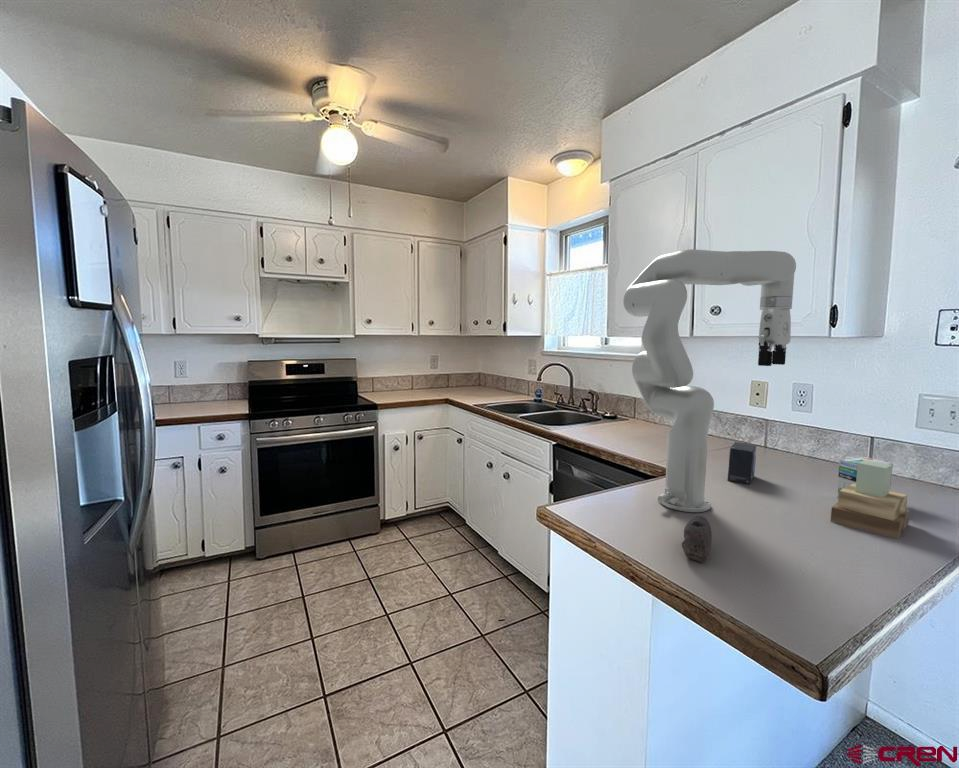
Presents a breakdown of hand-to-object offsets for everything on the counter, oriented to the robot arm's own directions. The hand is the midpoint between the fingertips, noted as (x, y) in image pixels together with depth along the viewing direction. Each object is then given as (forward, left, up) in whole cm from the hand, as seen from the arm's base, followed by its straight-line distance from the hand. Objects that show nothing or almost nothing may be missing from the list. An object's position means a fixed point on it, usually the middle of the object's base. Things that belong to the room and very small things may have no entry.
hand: (771, 365), depth 126 cm
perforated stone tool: (-53, -7, -37) cm, 65 cm away
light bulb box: (+12, -20, -37) cm, 43 cm away
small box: (+5, +8, -37) cm, 38 cm away
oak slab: (-6, -25, -33) cm, 42 cm away
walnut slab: (-7, -25, -37) cm, 45 cm away
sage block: (-7, -25, -29) cm, 39 cm away
